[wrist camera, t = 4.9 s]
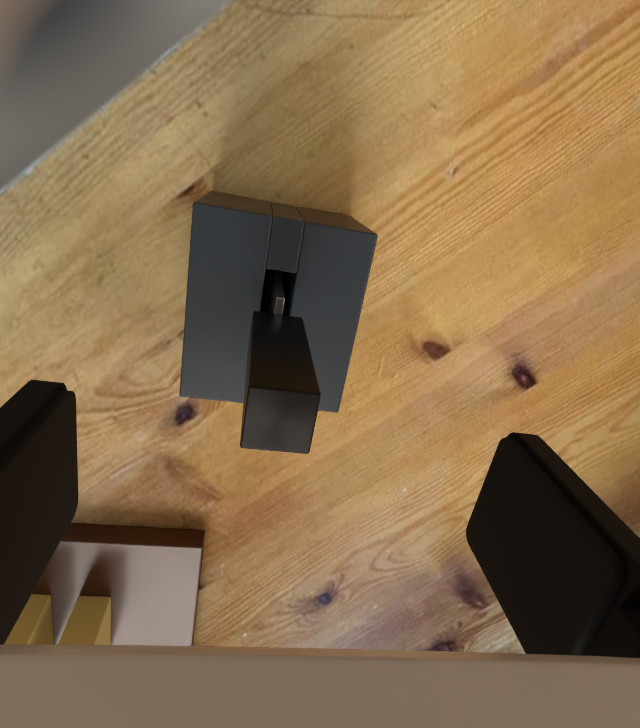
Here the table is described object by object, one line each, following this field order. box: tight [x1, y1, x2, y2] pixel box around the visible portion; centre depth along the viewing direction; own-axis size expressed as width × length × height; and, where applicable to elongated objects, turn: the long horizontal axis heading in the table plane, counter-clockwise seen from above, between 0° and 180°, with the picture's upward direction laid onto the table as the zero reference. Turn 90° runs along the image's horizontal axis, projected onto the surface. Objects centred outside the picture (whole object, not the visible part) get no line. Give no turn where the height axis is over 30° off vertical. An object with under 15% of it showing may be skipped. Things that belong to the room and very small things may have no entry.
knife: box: [240, 269, 321, 454], centre depth 18 cm, size 2×3×14 cm, turn 170°
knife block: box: [180, 191, 378, 412], centre depth 22 cm, size 7×8×6 cm
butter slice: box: [58, 596, 111, 645], centre depth 29 cm, size 2×5×4 cm, turn 170°
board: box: [32, 523, 205, 646], centre depth 31 cm, size 20×14×2 cm
